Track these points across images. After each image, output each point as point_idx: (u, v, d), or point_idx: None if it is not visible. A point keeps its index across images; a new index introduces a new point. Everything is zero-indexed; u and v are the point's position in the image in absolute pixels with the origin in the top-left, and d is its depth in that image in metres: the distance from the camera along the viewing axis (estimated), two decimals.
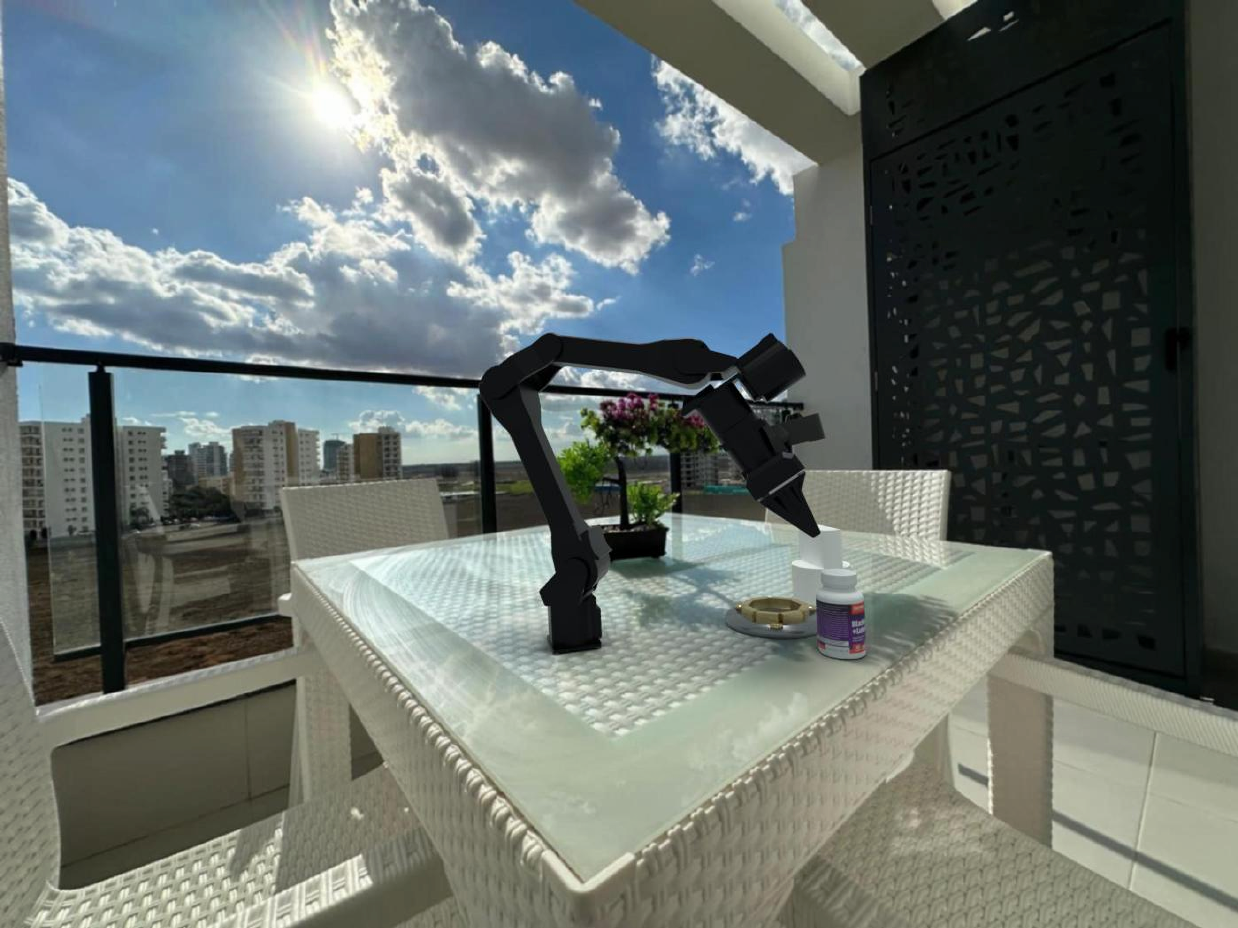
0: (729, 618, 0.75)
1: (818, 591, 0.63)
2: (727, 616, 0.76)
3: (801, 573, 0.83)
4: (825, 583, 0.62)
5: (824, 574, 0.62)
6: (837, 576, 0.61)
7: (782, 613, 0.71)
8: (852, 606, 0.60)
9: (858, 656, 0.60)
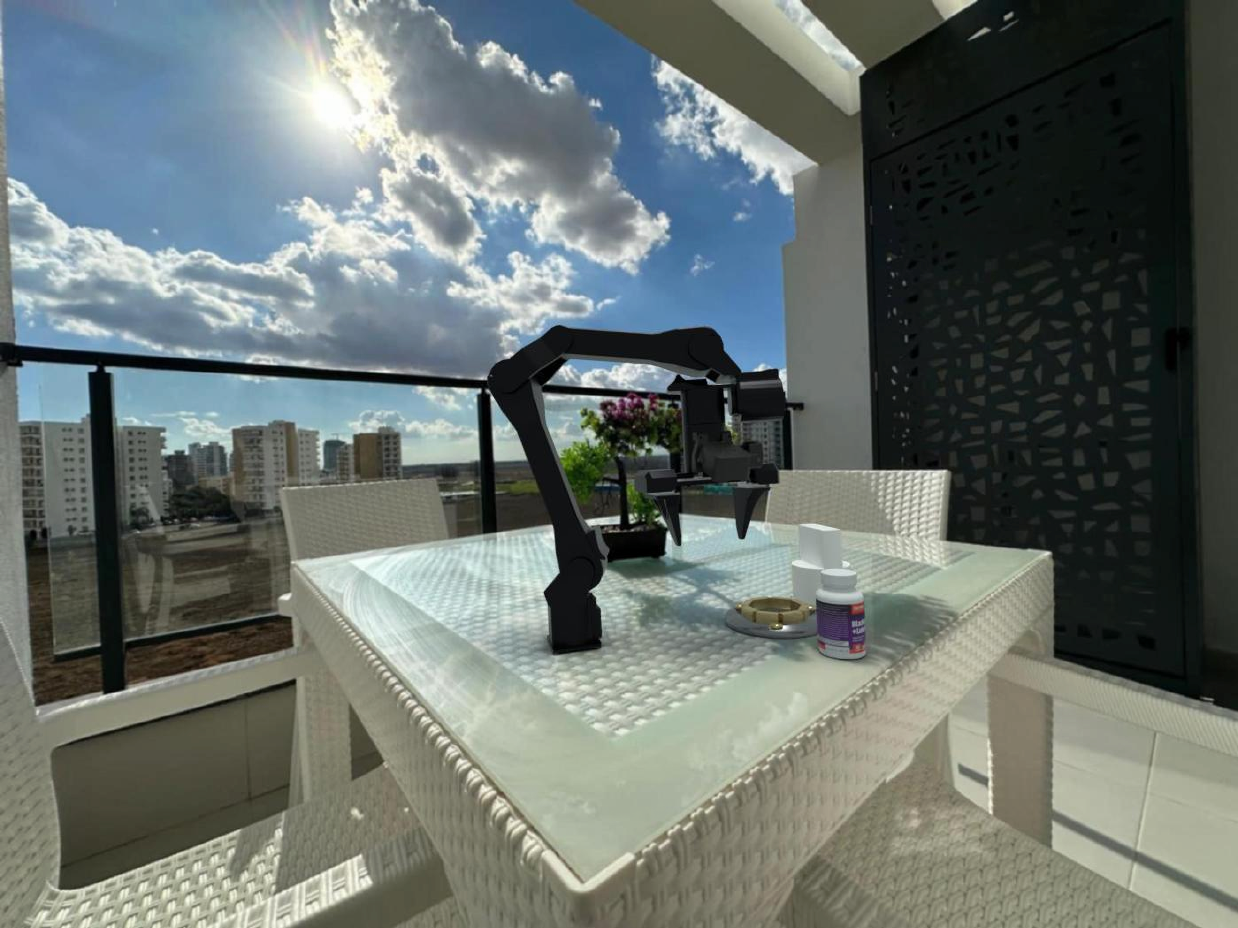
0: (729, 618, 0.75)
1: (818, 591, 0.63)
2: (727, 616, 0.76)
3: (801, 573, 0.83)
4: (825, 583, 0.62)
5: (824, 574, 0.62)
6: (837, 576, 0.61)
7: (782, 613, 0.71)
8: (852, 606, 0.60)
9: (858, 656, 0.60)
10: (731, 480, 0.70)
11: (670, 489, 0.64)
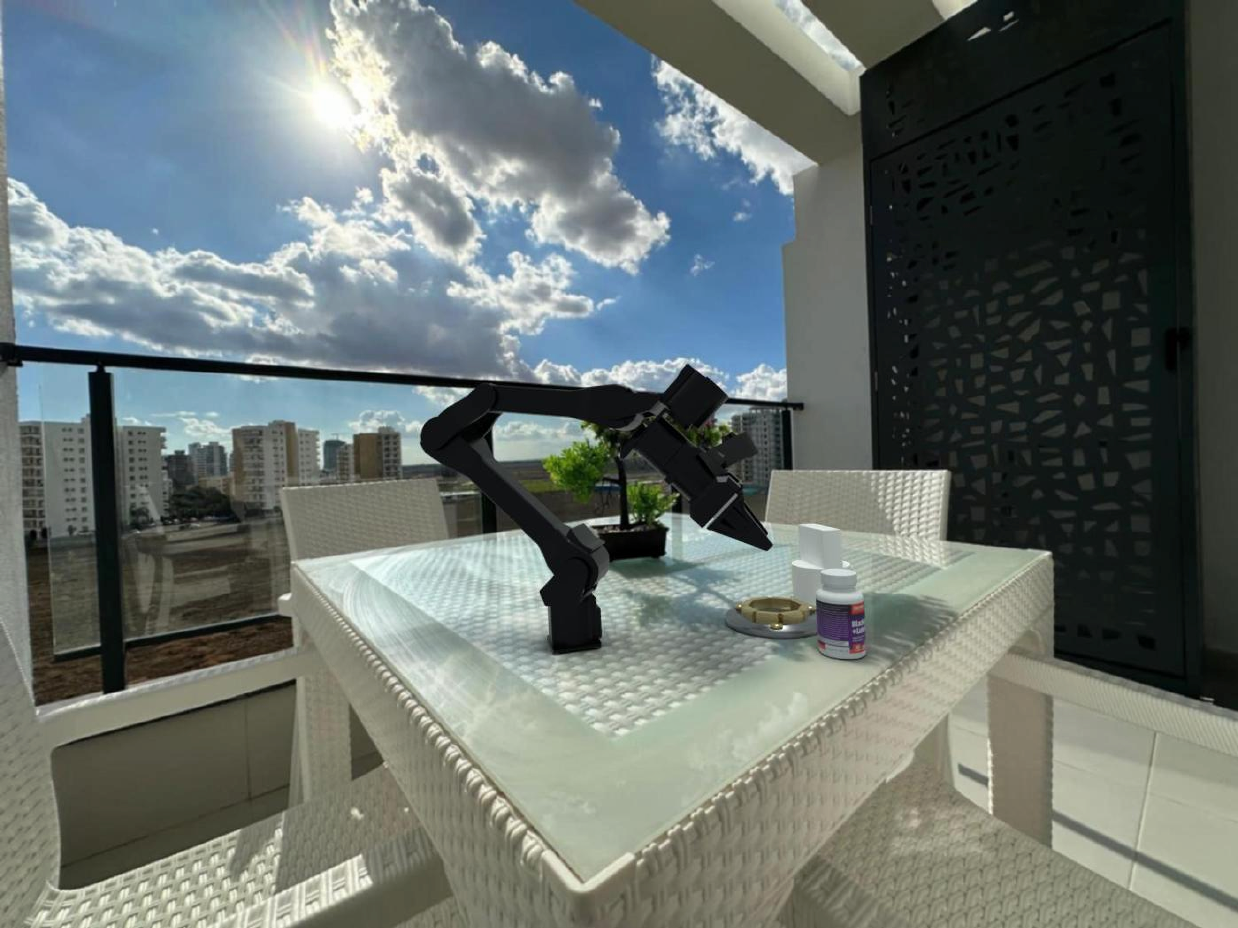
0: (729, 618, 0.75)
1: (818, 591, 0.63)
2: (727, 616, 0.76)
3: (801, 573, 0.83)
4: (825, 583, 0.62)
5: (824, 574, 0.62)
6: (837, 576, 0.61)
7: (782, 613, 0.71)
8: (852, 606, 0.60)
9: (858, 656, 0.60)
10: None
11: (738, 484, 0.59)
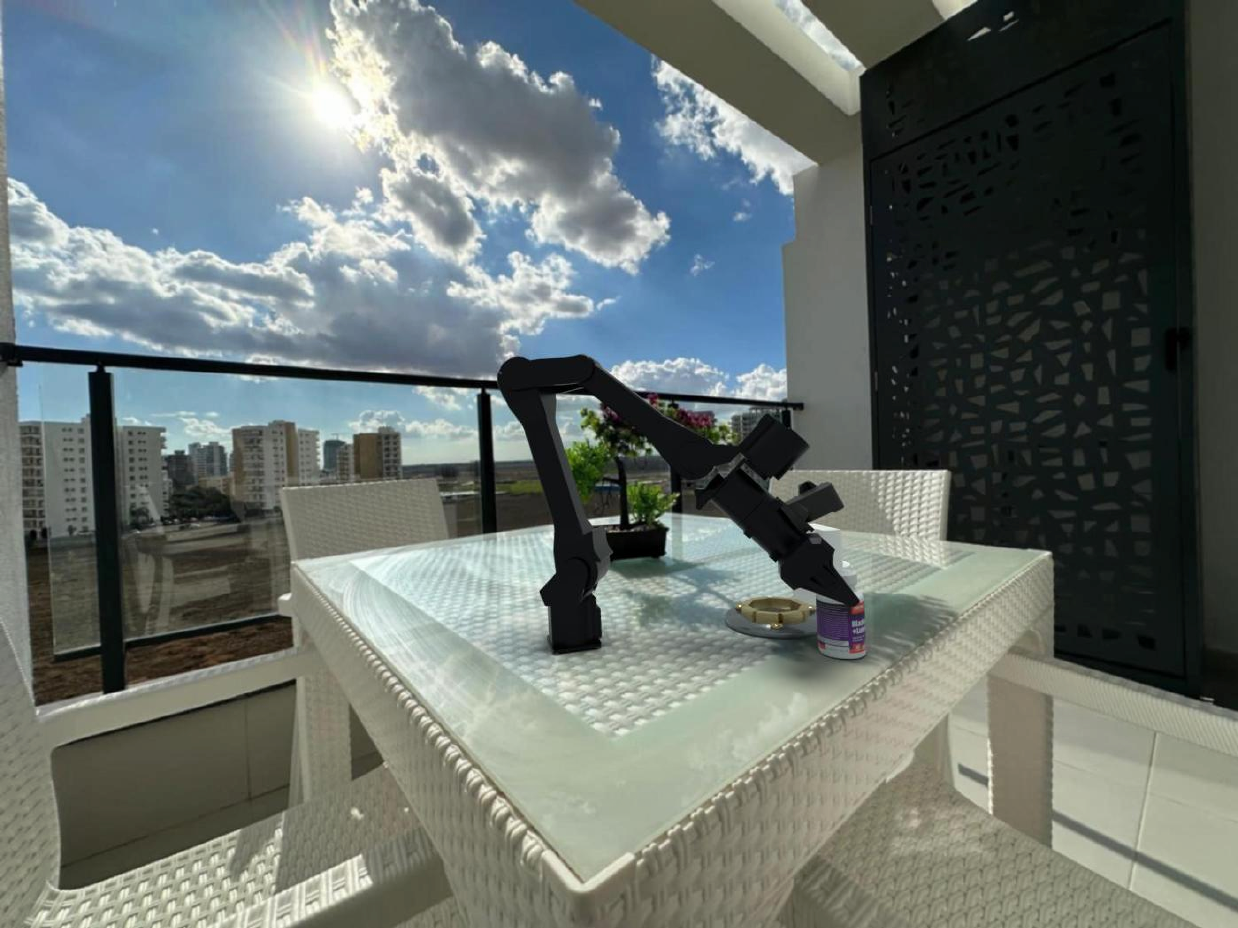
0: (729, 618, 0.75)
1: None
2: (727, 616, 0.76)
3: None
4: None
5: None
6: None
7: (782, 613, 0.71)
8: None
9: (858, 656, 0.60)
10: None
11: None
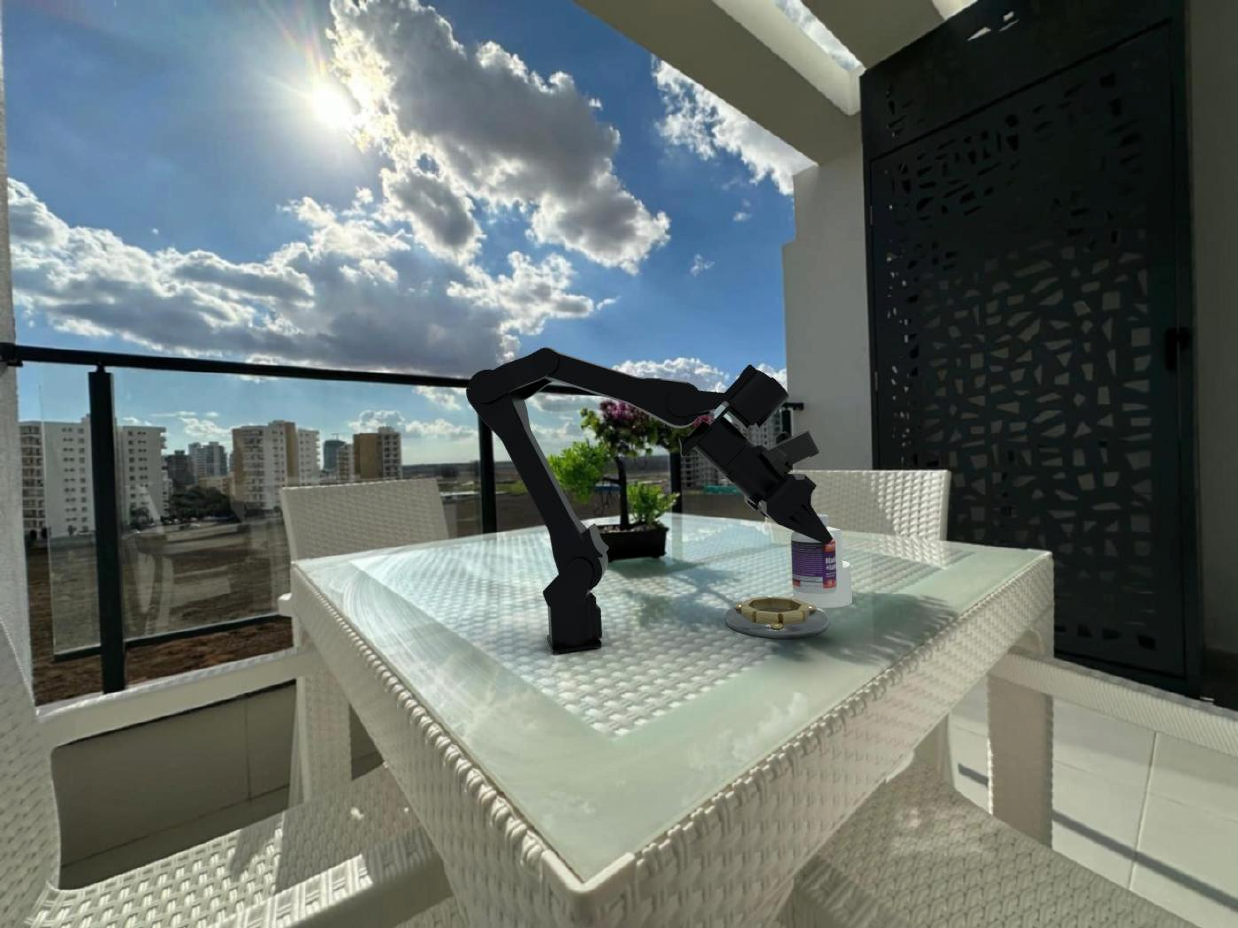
0: (729, 618, 0.75)
1: (793, 533, 0.67)
2: (727, 616, 0.76)
3: None
4: None
5: None
6: None
7: (782, 613, 0.71)
8: (826, 544, 0.65)
9: (830, 591, 0.65)
10: None
11: None
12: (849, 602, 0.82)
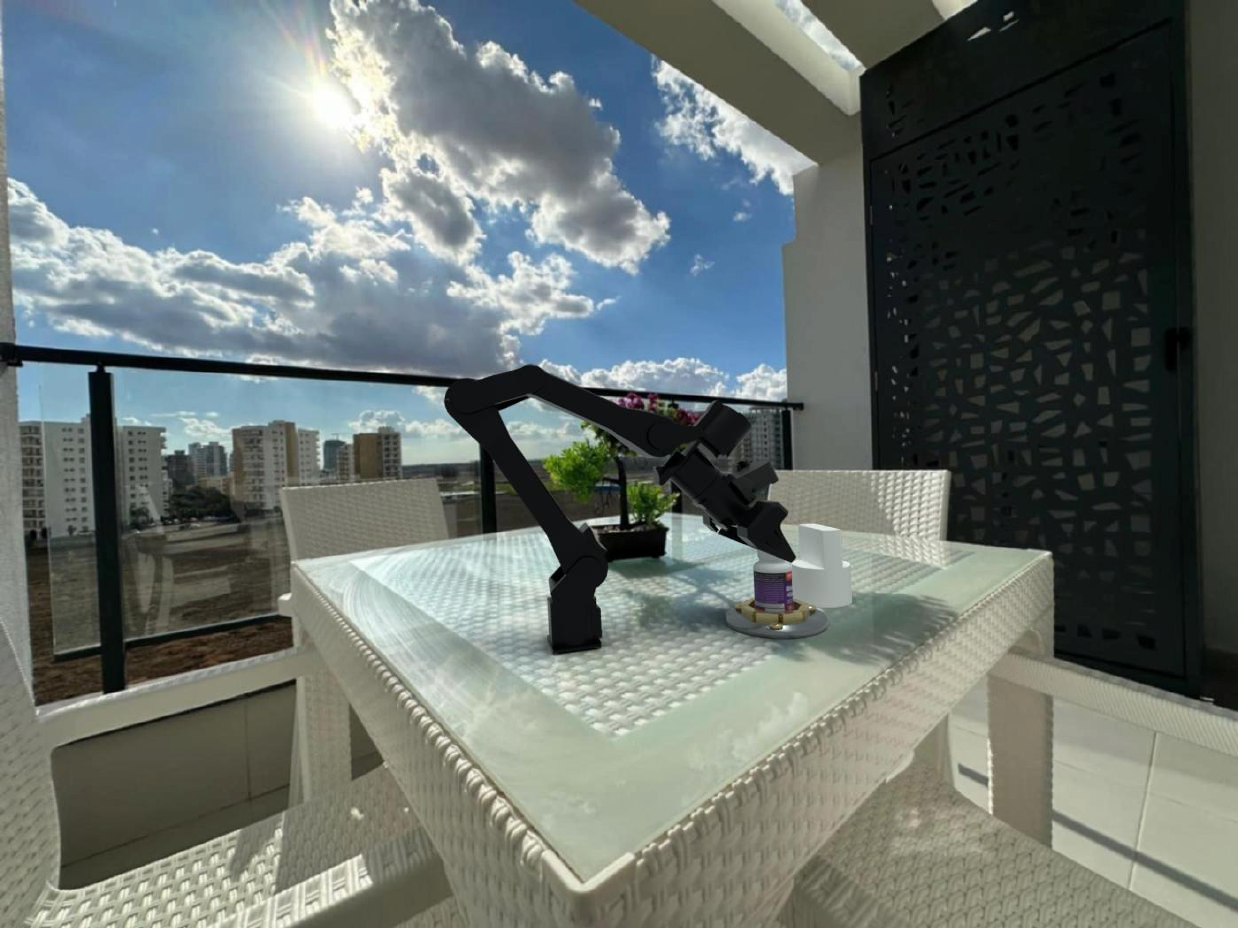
0: (729, 618, 0.75)
1: (756, 565, 0.75)
2: (727, 616, 0.76)
3: (801, 573, 0.83)
4: (764, 556, 0.74)
5: None
6: None
7: (782, 613, 0.71)
8: (786, 573, 0.73)
9: None
10: None
11: None
12: (849, 602, 0.82)
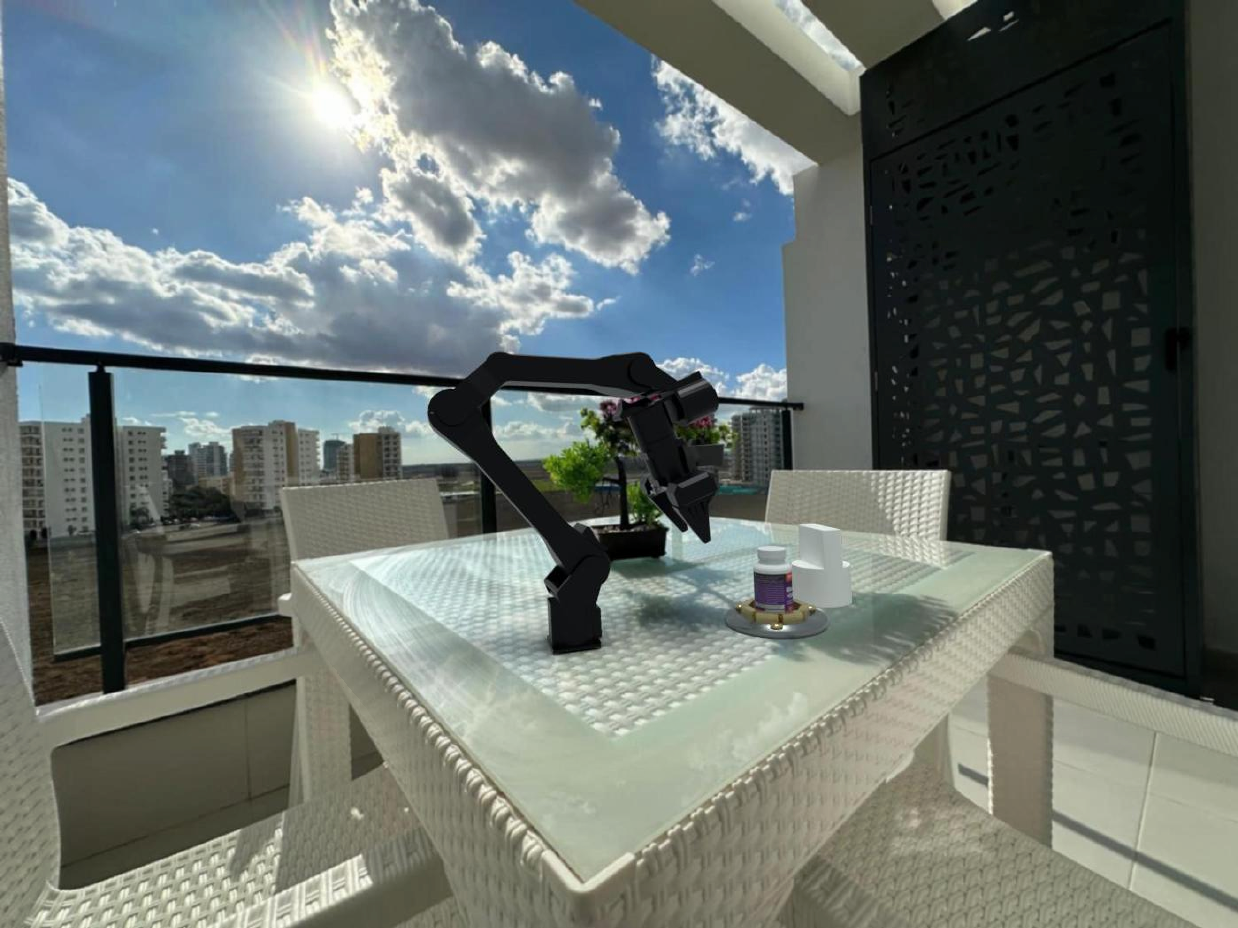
0: (729, 618, 0.75)
1: (756, 565, 0.74)
2: (727, 616, 0.76)
3: (801, 573, 0.83)
4: (764, 557, 0.74)
5: (762, 550, 0.74)
6: (774, 551, 0.73)
7: (782, 613, 0.71)
8: (786, 575, 0.73)
9: None
10: None
11: None
12: (849, 602, 0.82)
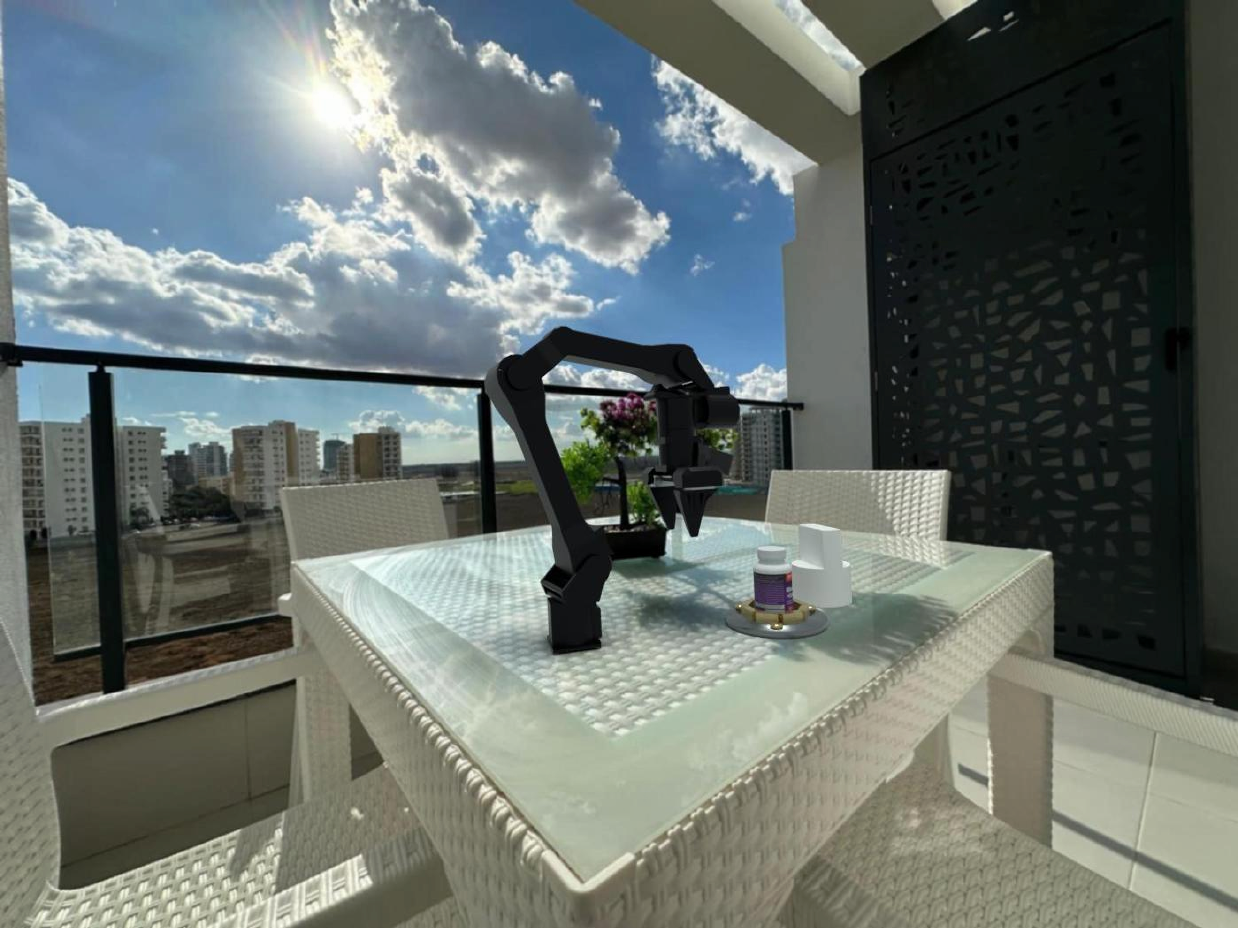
0: (729, 618, 0.75)
1: (756, 566, 0.74)
2: (727, 616, 0.76)
3: (801, 573, 0.83)
4: (764, 557, 0.74)
5: (762, 550, 0.74)
6: (774, 551, 0.73)
7: (782, 613, 0.71)
8: (786, 575, 0.73)
9: None
10: None
11: None
12: (849, 602, 0.82)
